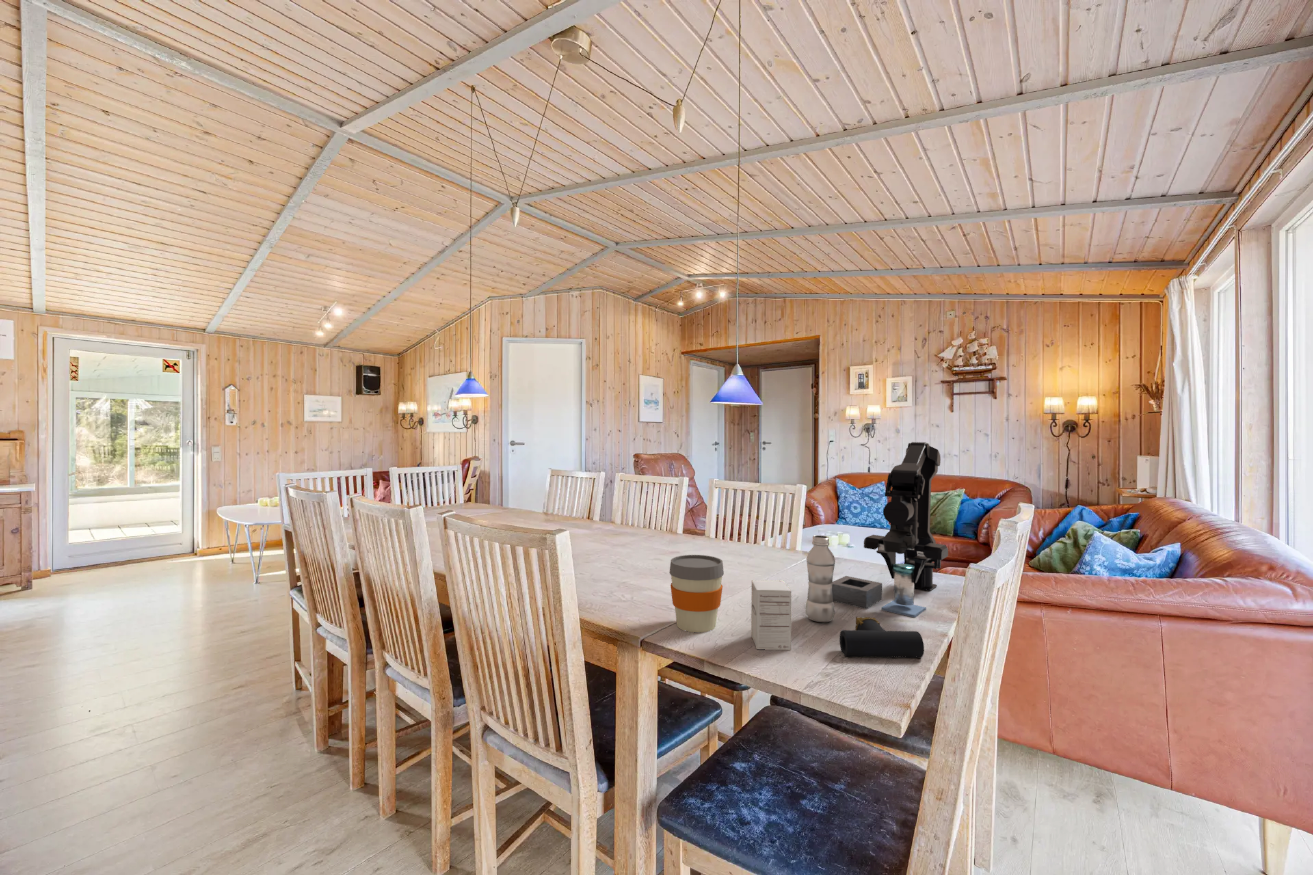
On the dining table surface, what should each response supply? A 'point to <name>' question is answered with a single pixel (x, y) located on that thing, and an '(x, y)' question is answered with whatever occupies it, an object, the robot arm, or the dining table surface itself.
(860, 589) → the housing
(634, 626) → the dining table surface
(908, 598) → the green lidded jar
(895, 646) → the pipe connector
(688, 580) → the reusable coffee cup
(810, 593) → the plastic bottle
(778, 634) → the supplement box
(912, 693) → the dining table surface
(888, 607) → the mat
